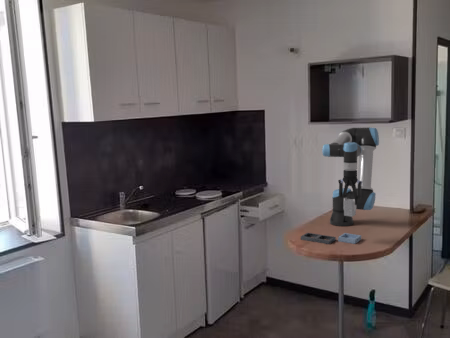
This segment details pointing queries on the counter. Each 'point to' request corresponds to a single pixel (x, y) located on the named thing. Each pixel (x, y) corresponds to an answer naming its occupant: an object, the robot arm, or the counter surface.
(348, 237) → the parts tray
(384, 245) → the counter surface
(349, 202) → the grey rectangular block
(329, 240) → the rack frame
